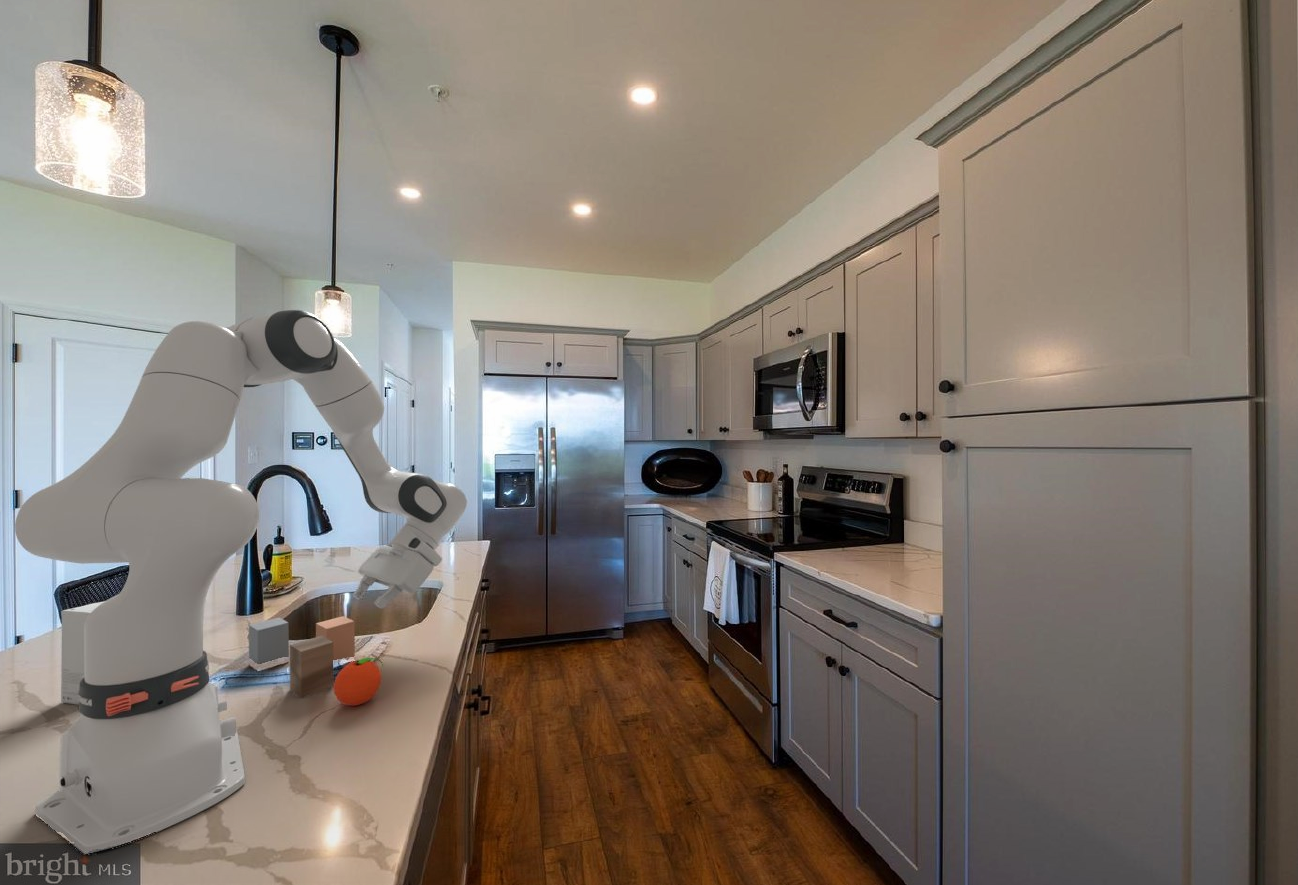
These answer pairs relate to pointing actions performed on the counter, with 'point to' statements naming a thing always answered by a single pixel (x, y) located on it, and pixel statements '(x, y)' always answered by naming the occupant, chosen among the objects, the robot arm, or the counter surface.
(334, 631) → the terracotta block
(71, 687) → the skincare box
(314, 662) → the walnut block
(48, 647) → the counter surface
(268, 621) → the slate-grey block
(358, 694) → the clementine
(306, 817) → the counter surface
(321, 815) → the counter surface
